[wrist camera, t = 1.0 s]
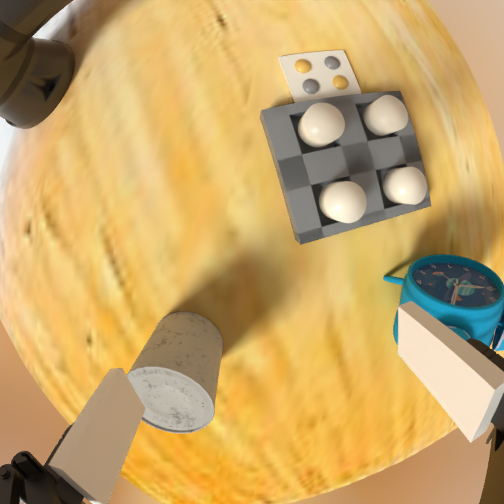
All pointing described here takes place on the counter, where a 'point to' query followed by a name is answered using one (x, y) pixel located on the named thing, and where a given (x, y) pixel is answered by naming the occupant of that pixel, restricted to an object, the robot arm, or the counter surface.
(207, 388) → the speckled white tin can
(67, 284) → the counter surface
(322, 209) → the button
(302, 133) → the button
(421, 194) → the button
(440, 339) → the robot arm
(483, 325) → the alarm clock
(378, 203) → the button board
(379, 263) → the counter surface
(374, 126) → the button
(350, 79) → the card
